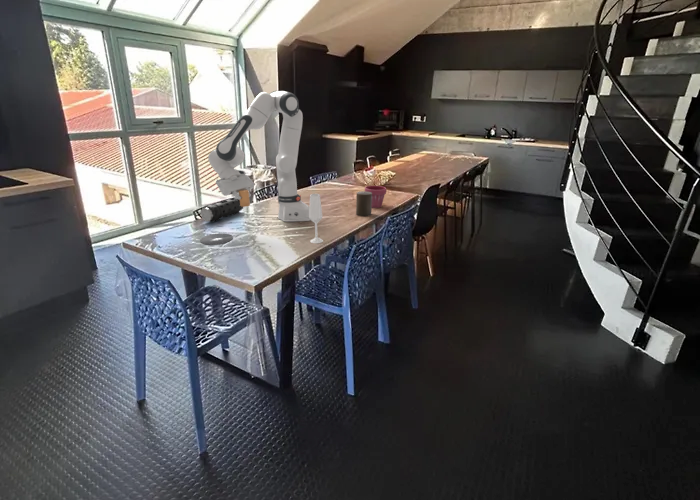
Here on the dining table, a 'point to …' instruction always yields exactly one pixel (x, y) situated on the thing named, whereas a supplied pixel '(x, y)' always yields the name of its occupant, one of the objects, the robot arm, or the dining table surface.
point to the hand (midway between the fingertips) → (245, 197)
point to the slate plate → (216, 239)
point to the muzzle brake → (221, 210)
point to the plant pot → (376, 195)
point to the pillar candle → (363, 203)
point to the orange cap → (244, 198)
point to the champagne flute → (315, 214)
